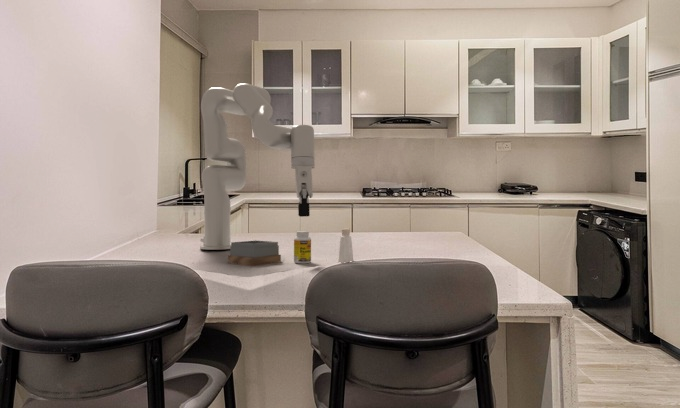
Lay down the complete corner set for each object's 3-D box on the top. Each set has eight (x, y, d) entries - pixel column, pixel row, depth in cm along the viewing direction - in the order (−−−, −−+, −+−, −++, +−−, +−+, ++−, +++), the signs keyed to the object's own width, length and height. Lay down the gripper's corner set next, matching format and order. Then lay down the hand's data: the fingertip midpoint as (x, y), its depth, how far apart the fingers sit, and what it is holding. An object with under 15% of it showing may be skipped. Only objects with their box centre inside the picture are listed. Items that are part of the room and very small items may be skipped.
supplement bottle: (299, 264, 146) (299, 232, 146) (290, 262, 151) (290, 231, 151) (314, 263, 149) (314, 231, 149) (305, 261, 154) (305, 230, 154)
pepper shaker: (356, 261, 153) (356, 228, 153) (351, 263, 148) (351, 229, 148) (340, 260, 155) (340, 228, 155) (335, 262, 150) (335, 229, 150)
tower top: (230, 255, 149) (230, 242, 149) (255, 252, 158) (255, 240, 158) (253, 257, 143) (253, 244, 143) (278, 254, 152) (278, 241, 152)
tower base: (228, 264, 150) (228, 255, 150) (256, 261, 159) (256, 252, 159) (252, 267, 142) (252, 258, 142) (280, 263, 152) (280, 254, 152)
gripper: (316, 160, 142) (317, 216, 141) (312, 166, 159) (313, 215, 158) (291, 160, 141) (292, 216, 140) (291, 166, 158) (291, 216, 158)
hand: (303, 216), depth 149 cm, fingers open, 9 cm apart
